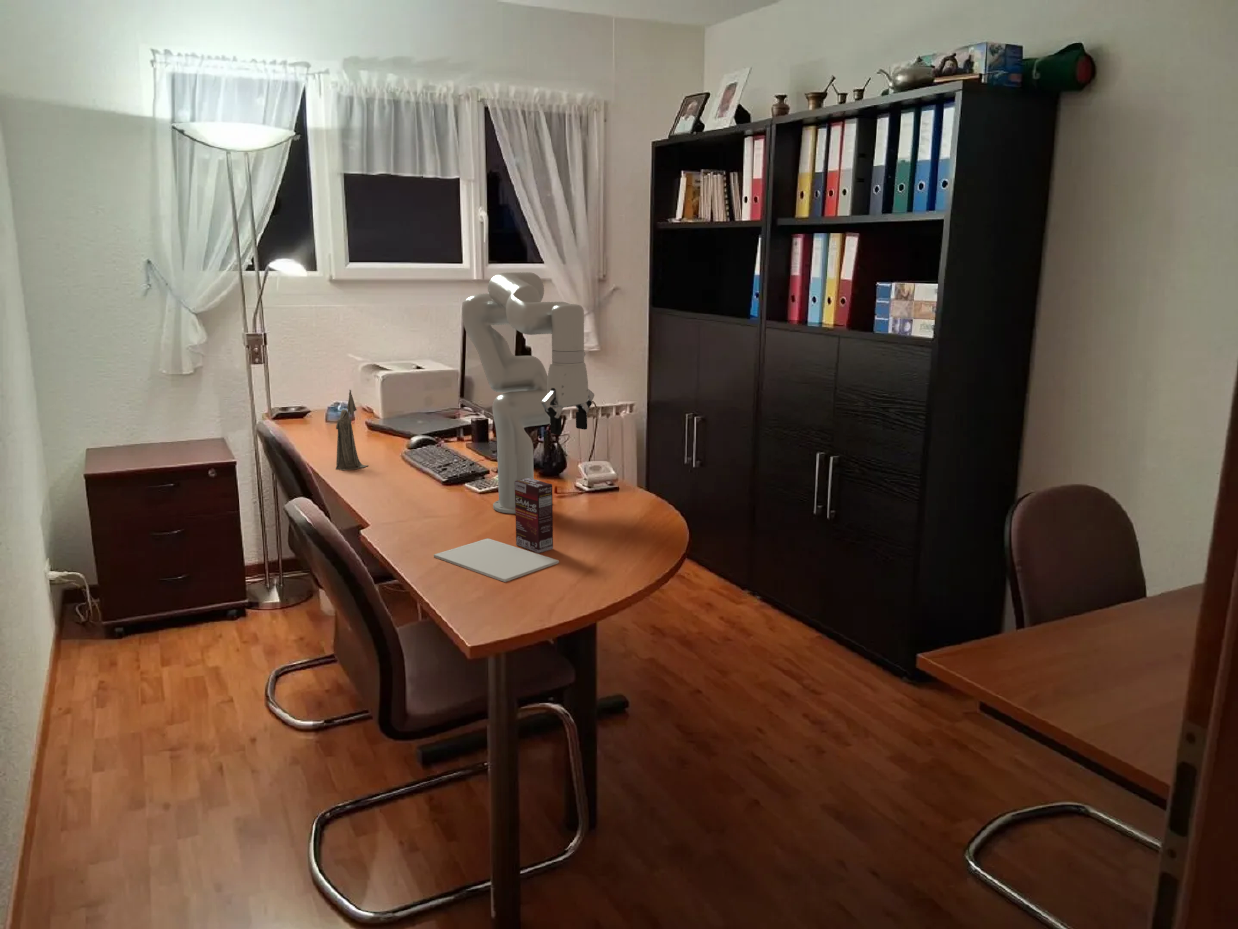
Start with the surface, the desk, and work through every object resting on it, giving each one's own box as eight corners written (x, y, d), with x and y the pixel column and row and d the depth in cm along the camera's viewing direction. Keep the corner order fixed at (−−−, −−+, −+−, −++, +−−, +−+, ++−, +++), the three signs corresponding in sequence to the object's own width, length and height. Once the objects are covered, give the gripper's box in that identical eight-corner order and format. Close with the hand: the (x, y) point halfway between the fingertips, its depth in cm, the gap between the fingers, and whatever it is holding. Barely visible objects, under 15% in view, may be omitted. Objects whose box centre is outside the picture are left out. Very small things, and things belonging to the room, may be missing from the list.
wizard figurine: (361, 462, 295) (355, 387, 290) (371, 467, 289) (365, 389, 283) (330, 466, 289) (324, 389, 284) (339, 471, 283) (333, 392, 277)
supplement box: (514, 545, 212) (513, 480, 208) (530, 541, 215) (529, 476, 212) (538, 554, 206) (537, 487, 202) (554, 549, 209) (553, 483, 206)
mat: (487, 540, 215) (487, 538, 215) (558, 563, 200) (558, 560, 200) (433, 557, 204) (433, 554, 203) (504, 582, 188) (504, 579, 188)
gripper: (582, 353, 218) (582, 424, 222) (529, 359, 205) (531, 434, 209) (605, 355, 213) (605, 428, 217) (552, 362, 201) (554, 438, 205)
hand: (568, 431), depth 213 cm, fingers open, 8 cm apart
